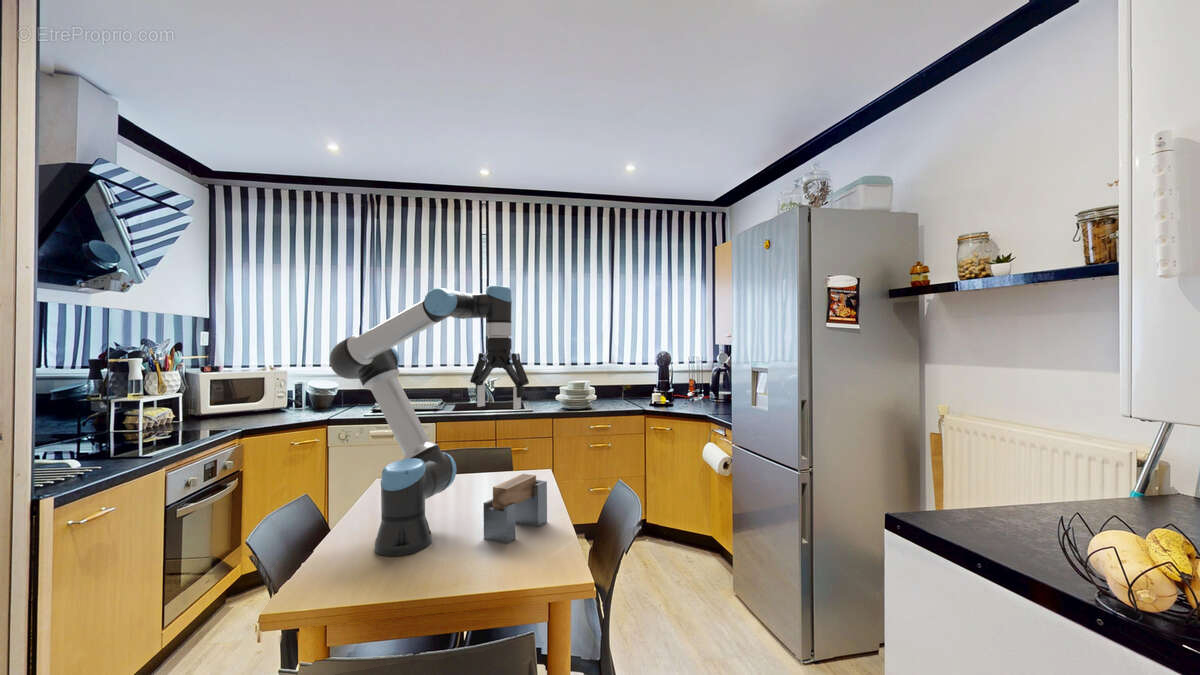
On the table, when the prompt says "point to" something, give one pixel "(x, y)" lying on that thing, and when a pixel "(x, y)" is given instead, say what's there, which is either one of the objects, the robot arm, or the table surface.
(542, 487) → the cup bracket stand
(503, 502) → the walnut rail
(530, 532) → the table surface
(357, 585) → the table surface
